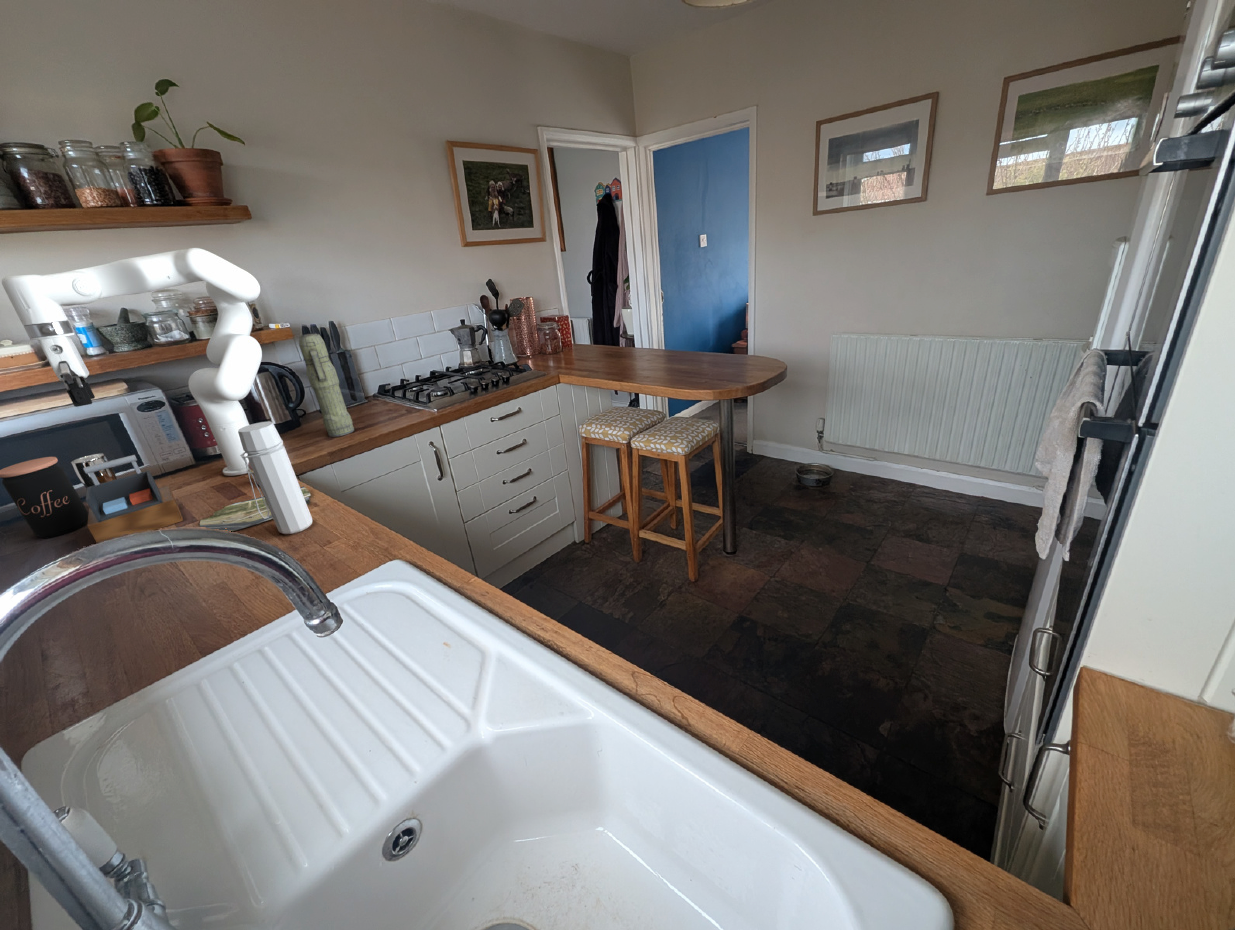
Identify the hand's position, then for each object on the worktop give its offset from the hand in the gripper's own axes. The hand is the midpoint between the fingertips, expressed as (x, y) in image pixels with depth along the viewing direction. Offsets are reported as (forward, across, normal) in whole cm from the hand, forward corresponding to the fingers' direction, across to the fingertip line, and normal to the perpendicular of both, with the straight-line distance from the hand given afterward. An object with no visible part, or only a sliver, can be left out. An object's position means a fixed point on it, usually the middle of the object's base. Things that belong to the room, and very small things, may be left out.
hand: (85, 402), depth 128 cm
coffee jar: (+31, +6, +15) cm, 35 cm away
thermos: (+29, +23, -57) cm, 68 cm away
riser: (+31, -10, 0) cm, 32 cm away
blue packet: (+24, -13, +2) cm, 27 cm away
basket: (+25, -12, 0) cm, 28 cm away
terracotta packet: (+24, -12, -3) cm, 27 cm away
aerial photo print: (+31, -30, -23) cm, 49 cm away
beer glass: (+31, +12, +5) cm, 33 cm away
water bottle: (+31, -48, -27) cm, 63 cm away
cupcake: (+30, -8, -30) cm, 43 cm away
